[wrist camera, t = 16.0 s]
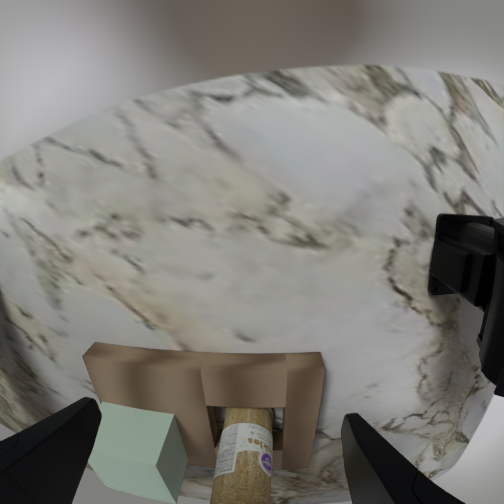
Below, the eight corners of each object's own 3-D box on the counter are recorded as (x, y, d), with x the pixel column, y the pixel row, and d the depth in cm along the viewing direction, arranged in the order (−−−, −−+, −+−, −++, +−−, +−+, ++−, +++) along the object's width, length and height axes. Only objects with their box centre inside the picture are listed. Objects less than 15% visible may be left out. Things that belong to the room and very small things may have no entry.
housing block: (174, 414, 22) (155, 465, 16) (188, 458, 24) (176, 503, 18) (102, 401, 22) (75, 443, 17) (124, 447, 24) (106, 486, 19)
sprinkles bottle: (283, 412, 24) (287, 539, 11) (249, 431, 25) (238, 548, 12) (248, 387, 24) (234, 525, 11) (214, 409, 25) (187, 533, 12)
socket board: (320, 351, 22) (325, 370, 20) (306, 450, 26) (308, 468, 24) (94, 342, 23) (82, 356, 21) (131, 438, 27) (125, 452, 25)
